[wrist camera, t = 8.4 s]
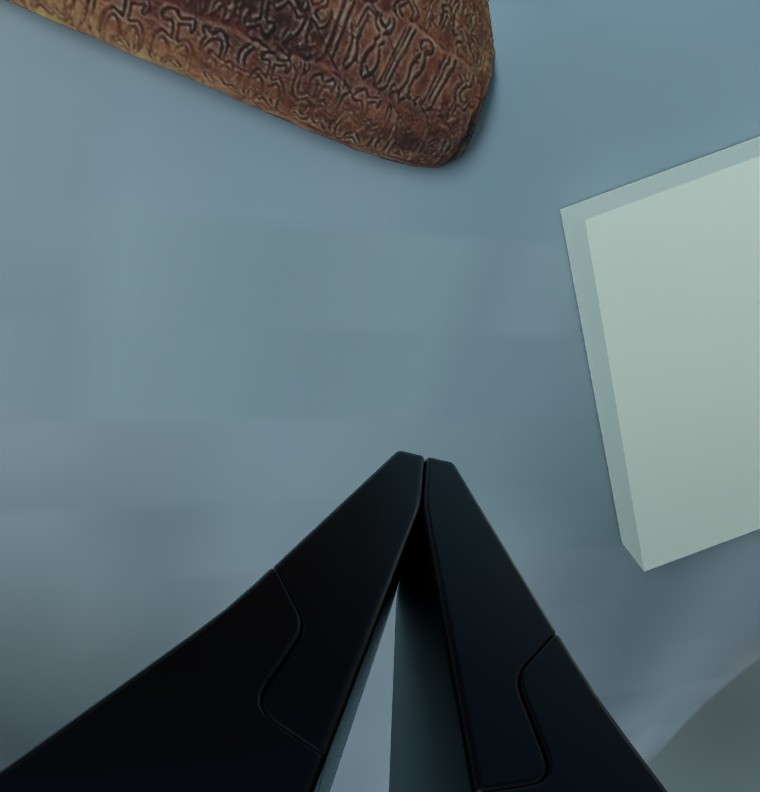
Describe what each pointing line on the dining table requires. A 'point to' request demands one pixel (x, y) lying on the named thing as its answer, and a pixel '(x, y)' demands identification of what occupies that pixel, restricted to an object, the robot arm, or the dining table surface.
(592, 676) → the dining table surface
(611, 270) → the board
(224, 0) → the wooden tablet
